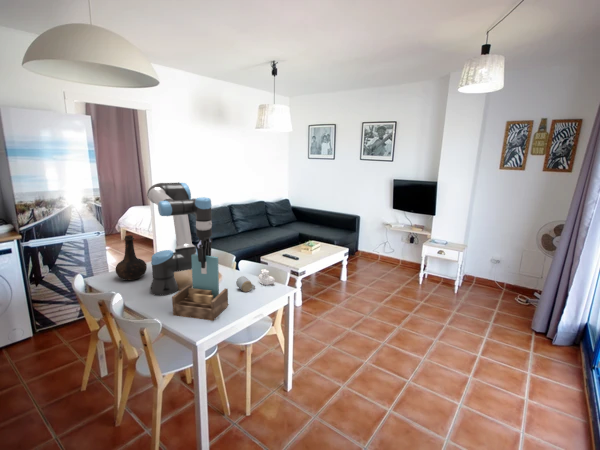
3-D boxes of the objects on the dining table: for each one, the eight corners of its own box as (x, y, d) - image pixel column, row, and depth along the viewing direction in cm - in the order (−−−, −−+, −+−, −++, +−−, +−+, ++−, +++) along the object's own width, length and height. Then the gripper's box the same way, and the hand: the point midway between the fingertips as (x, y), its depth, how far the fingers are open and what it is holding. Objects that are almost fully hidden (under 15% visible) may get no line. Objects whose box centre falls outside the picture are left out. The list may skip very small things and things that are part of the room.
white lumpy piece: (258, 285, 204) (251, 275, 196) (263, 275, 208) (257, 265, 200) (273, 289, 198) (267, 279, 190) (278, 279, 202) (273, 269, 195)
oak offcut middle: (189, 307, 164) (188, 289, 162) (190, 305, 165) (190, 287, 163) (210, 309, 162) (210, 291, 159) (212, 308, 163) (211, 290, 161)
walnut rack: (172, 318, 155) (171, 297, 153) (191, 302, 172) (190, 283, 170) (214, 323, 151) (213, 302, 149) (229, 306, 169) (228, 287, 166)
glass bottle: (127, 285, 191) (123, 241, 185) (110, 279, 200) (106, 236, 194) (153, 276, 206) (150, 235, 200) (136, 271, 215) (133, 231, 209)
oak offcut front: (193, 311, 160) (193, 294, 158) (195, 309, 161) (194, 293, 159) (212, 313, 158) (211, 296, 156) (213, 312, 159) (213, 295, 157)
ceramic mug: (241, 293, 185) (241, 281, 183) (235, 288, 191) (236, 277, 190) (257, 290, 191) (258, 278, 190) (251, 285, 198) (251, 274, 196)
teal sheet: (193, 298, 166) (191, 255, 161) (194, 297, 168) (193, 254, 163) (217, 301, 164) (216, 257, 159) (219, 300, 166) (218, 256, 160)
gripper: (203, 232, 150) (205, 278, 155) (217, 226, 164) (218, 268, 169) (189, 231, 151) (191, 277, 156) (204, 224, 165) (205, 267, 170)
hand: (205, 272), depth 163 cm, fingers closed on teal sheet, 2 cm apart
